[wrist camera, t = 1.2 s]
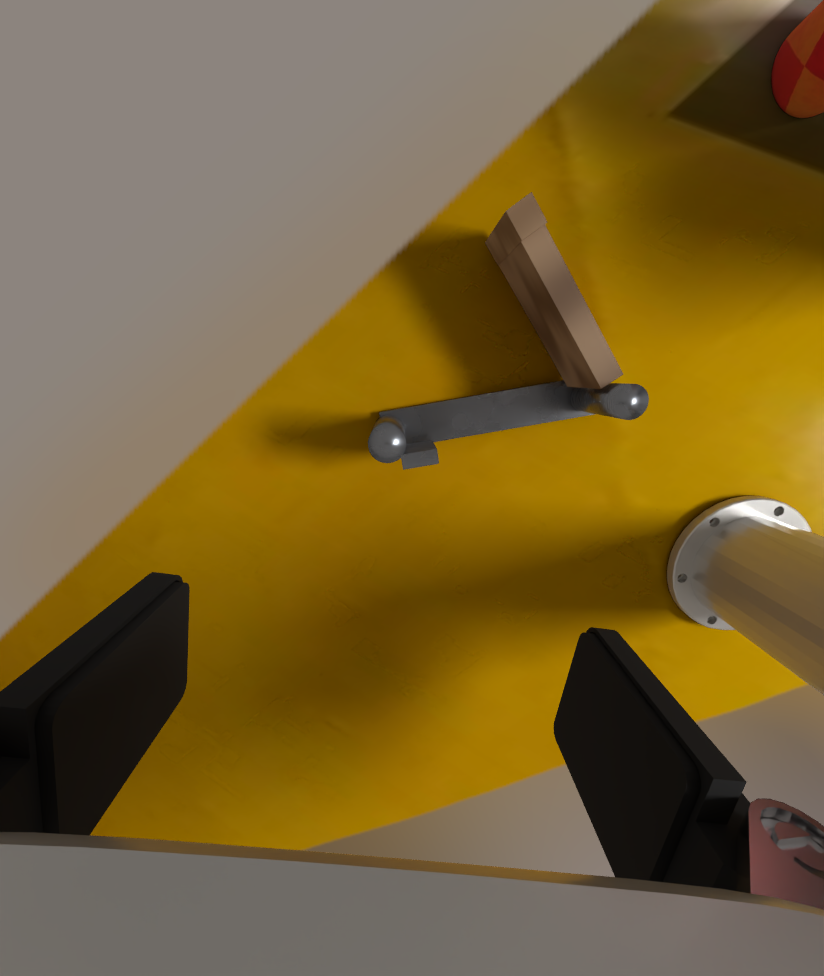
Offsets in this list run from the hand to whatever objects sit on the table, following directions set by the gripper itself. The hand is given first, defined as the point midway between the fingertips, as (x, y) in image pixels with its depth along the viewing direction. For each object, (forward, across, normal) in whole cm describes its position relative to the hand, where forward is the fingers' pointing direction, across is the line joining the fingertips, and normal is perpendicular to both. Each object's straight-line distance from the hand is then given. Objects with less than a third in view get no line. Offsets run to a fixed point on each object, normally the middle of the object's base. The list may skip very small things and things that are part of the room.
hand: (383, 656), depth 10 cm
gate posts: (+25, -7, -4) cm, 26 cm away
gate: (+24, -9, -13) cm, 29 cm away
